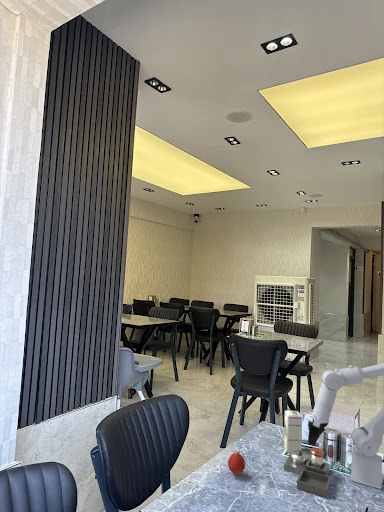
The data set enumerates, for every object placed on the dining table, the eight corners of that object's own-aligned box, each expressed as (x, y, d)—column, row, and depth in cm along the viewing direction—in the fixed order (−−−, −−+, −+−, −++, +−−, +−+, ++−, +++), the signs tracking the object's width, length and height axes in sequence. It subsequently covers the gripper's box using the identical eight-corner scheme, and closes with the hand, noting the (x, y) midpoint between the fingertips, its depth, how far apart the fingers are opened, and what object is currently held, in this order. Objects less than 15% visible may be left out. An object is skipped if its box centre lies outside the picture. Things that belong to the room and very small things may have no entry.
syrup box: (301, 454, 140) (303, 415, 141) (286, 453, 140) (287, 414, 141) (297, 447, 145) (298, 410, 147) (283, 446, 146) (284, 409, 147)
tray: (330, 484, 119) (330, 476, 119) (326, 498, 111) (327, 490, 111) (302, 476, 123) (302, 468, 123) (296, 488, 115) (296, 480, 115)
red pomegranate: (224, 476, 120) (226, 451, 121) (231, 469, 125) (232, 445, 126) (241, 481, 117) (242, 456, 118) (247, 474, 122) (248, 449, 123)
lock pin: (324, 468, 126) (325, 450, 126) (322, 473, 122) (323, 455, 122) (310, 464, 128) (311, 446, 128) (308, 469, 124) (309, 451, 124)
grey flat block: (329, 469, 129) (330, 455, 129) (325, 482, 120) (326, 467, 120) (290, 458, 135) (290, 445, 136) (283, 470, 126) (284, 455, 127)
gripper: (316, 396, 136) (305, 431, 135) (309, 402, 123) (297, 441, 122) (335, 404, 132) (324, 440, 131) (330, 412, 119) (318, 452, 119)
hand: (312, 441), depth 127 cm, fingers open, 7 cm apart
